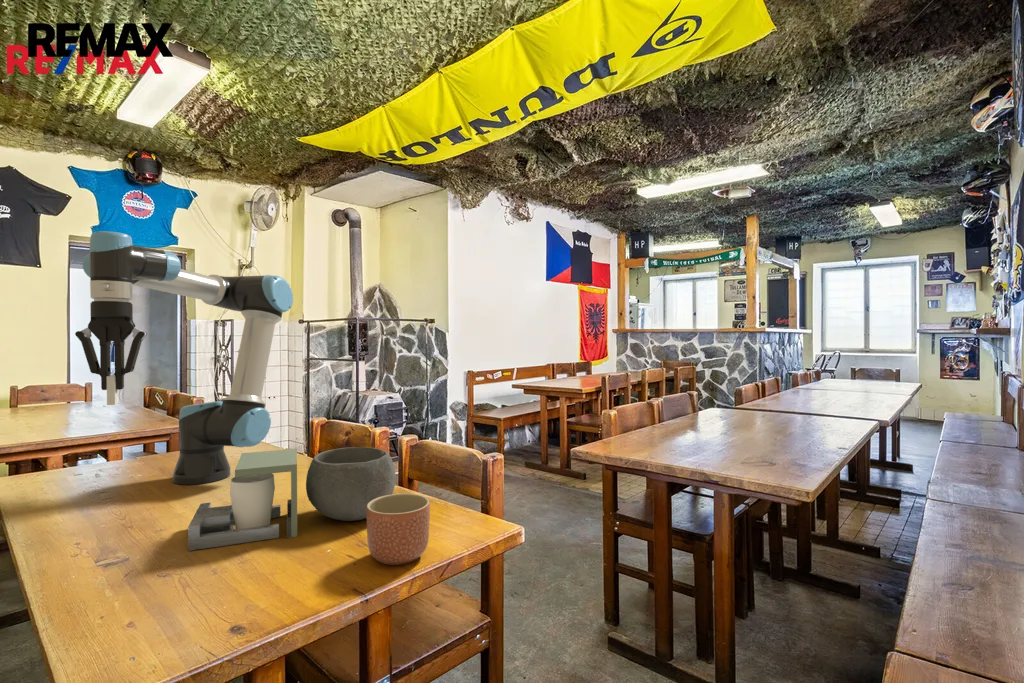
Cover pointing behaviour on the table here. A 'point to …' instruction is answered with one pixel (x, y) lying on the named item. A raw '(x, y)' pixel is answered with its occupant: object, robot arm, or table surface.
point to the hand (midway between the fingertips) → (112, 404)
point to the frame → (225, 528)
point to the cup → (252, 500)
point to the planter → (398, 527)
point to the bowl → (349, 481)
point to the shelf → (274, 464)
